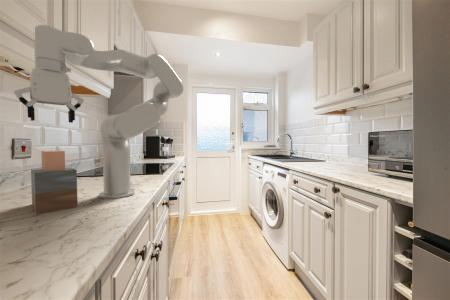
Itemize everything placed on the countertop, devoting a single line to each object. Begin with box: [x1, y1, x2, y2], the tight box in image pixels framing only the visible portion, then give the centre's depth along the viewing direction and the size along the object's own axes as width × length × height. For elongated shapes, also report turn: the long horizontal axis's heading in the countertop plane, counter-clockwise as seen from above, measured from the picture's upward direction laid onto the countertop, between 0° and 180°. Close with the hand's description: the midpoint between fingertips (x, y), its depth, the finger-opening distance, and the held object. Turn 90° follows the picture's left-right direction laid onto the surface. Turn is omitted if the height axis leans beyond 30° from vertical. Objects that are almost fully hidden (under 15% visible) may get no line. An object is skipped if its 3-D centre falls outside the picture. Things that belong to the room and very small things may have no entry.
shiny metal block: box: [30, 165, 79, 215], centre depth 68 cm, size 14×10×12 cm
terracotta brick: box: [41, 150, 66, 171], centre depth 68 cm, size 8×5×6 cm, turn 46°
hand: (52, 121), depth 68 cm, fingers open, 9 cm apart
